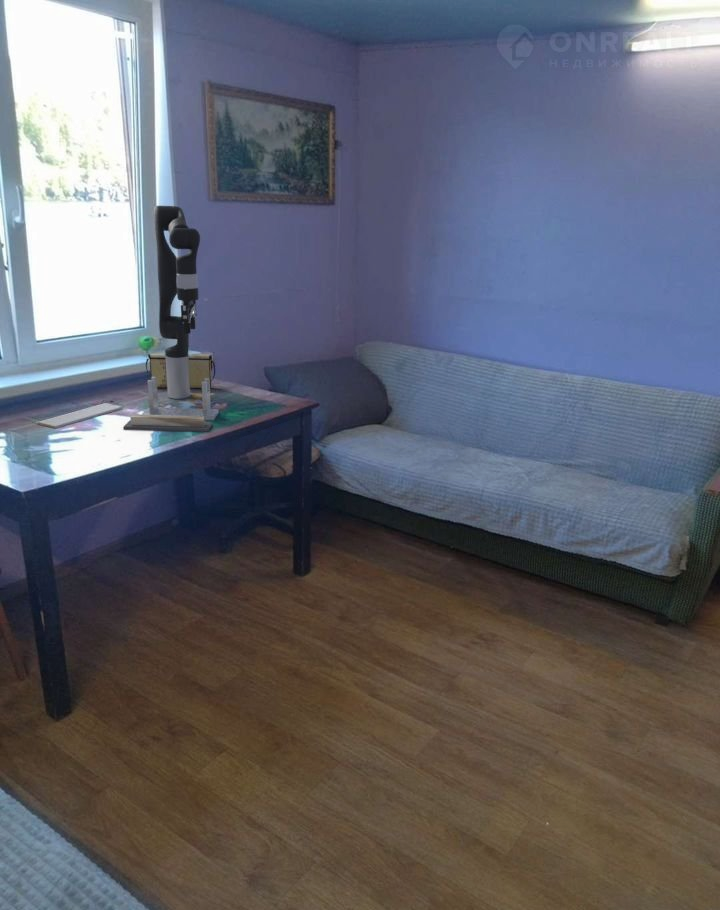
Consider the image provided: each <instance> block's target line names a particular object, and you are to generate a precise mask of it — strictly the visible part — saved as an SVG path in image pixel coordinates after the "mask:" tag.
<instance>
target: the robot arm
mask: <svg viewBox="0 0 720 910" xmlns="http://www.w3.org/2000/svg"><path fill="white" fill-rule="evenodd" d="M153 221H154V222H153V223H154V233H155V240H156V251H157V253H156V254H157V256H156V257H157V282H158V290H159V296H158V297H159V315H158V316H159V319H158V320H159V321H158V322H159V323H158V326H159V327H158V329H159V334H160V336H161V337H162V338H163V339H166V340H167V339H168V340H176V344H175V345H173V346H170V347H167V348H165V350H164V354H165V358H166V374H167V387H166V388H167V397H168V398H169V399H174V400H175V399H178V400H179V399H181V400H183V399H187V398H190V397H191V388H190V376H189V357H188V355H189V347H190V343H189V342H190V340H189V339H190V338H189V337H190V335H189V334H191V332H192V331H191V330H195V329H196V318H197V301H198V300H199V298H200V297H199V281H198V274H197V273H198V271H197V256H198V252H199V247H200V244H201V243H200V242H201V236H200V235H201V234H200V233H199V231H198V230H197V229H196V228H192V227H189V226H188V225H187V221H186V217H185V214H184V211H183V209H182V208H181V207H179V206H176V205H155V207H154V208H153ZM167 231H168V232H169V235H168V236H169V237H168V240H169V243H168V242H167V239H166V236H165V232H167ZM169 244H170V245H169ZM170 246H171V247H172V248H173V249H175V250H189V251H188V253H187V254H185V255H181V256H176V254H175V253H174V251H173V250H172V248H171V247H170ZM176 297H177V300H178V301H182V305H180V316H177V315H172V314H171V311H172V310H171V309H172V305H173V302H174V300H175V298H176Z"/></svg>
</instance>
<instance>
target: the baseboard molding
mask: <svg viewBox="0 0 720 910" xmlns="http://www.w3.org/2000/svg"><path fill="white" fill-rule="evenodd" d="M103 402H104V403H103ZM107 402H108V403H107ZM114 403H115V404H114ZM117 404H118V403H117V402H114V401H113V400H109V401H107V400H106V402H105V400H104V399H103V400H102V401H101V404H97V405H93V406H89V407H87V408H86V407H85V408H83V409H79V410H76V411H73V412H69V413H66V414H61V415H58V416H54V417H51V418H48V419H43V420H40V421H36V422H35V424H36V425H41V426H44V427H48V428H51V429H57V428H61V427H64V426H69V425H71V424H75V423H79V422H82V421H85V420H89V419H92V418H96V417H99V416H103V415H105V414H110V413H112V412H116V411H119V410H123V406H122V404H121V403H120V404H119V405H117Z"/></svg>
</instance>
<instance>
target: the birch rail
mask: <svg viewBox="0 0 720 910" xmlns="http://www.w3.org/2000/svg"><path fill="white" fill-rule="evenodd" d="M130 420H131V425H159V426H196V427H204V426H205V422H206V420H205V416H174V415H141V414H136V413H135V414H134V413H133V414H132V415H130Z"/></svg>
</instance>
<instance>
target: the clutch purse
mask: <svg viewBox="0 0 720 910" xmlns="http://www.w3.org/2000/svg"><path fill="white" fill-rule="evenodd" d="M188 357H189V376H190V389H195V388H196V389H202V382H205V381H204V379H205V378H208V379H209V380H210V389H212V385H213V384H212V382H213V381H214V379H215V376H216V365H215V364H216V363H215V362H214V361H215V360H214V358H213V357H212V354H188ZM148 361H149V371H150V373H149V371H148ZM145 368H146V369H145V370H146V373H147V374H148V375H150V379H151V378H152V377H157V388H167V374H166V358H165V353H148V354H147V358H146V362H145ZM212 371H213V375H212ZM212 376H213V377H212Z"/></svg>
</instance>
